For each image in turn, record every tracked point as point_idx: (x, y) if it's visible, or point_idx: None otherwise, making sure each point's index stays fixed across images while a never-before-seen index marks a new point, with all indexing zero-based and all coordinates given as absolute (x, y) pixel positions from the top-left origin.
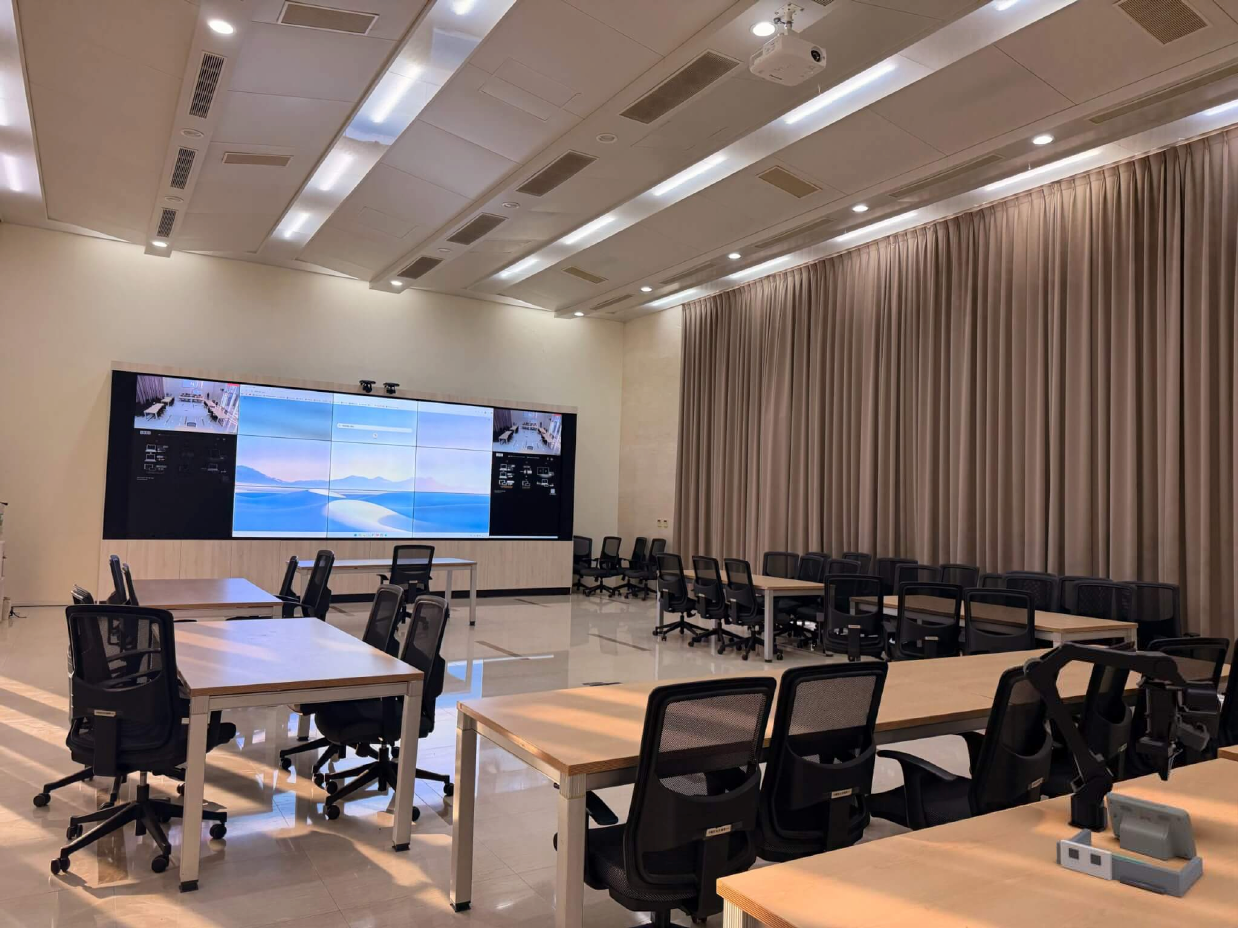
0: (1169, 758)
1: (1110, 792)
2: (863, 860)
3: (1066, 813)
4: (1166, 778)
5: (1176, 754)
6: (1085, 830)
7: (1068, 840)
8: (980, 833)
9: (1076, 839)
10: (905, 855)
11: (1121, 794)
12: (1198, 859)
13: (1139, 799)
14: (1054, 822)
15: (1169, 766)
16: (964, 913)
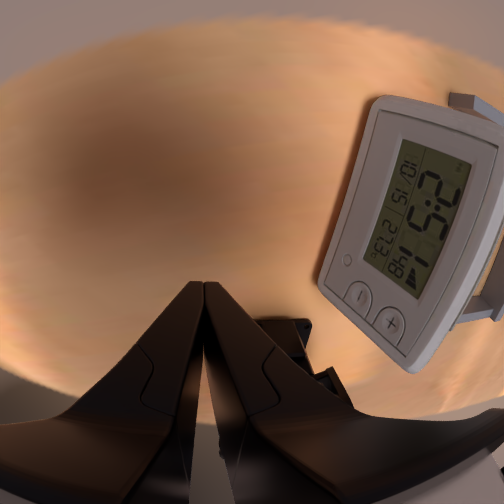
0: (381, 419)
1: (421, 368)
2: (489, 388)
3: None
4: (227, 293)
5: (41, 422)
6: None
7: (470, 319)
8: (406, 398)
9: (463, 314)
10: (479, 384)
11: (430, 345)
12: (486, 105)
13: (473, 291)
14: None
15: (236, 349)
16: None
